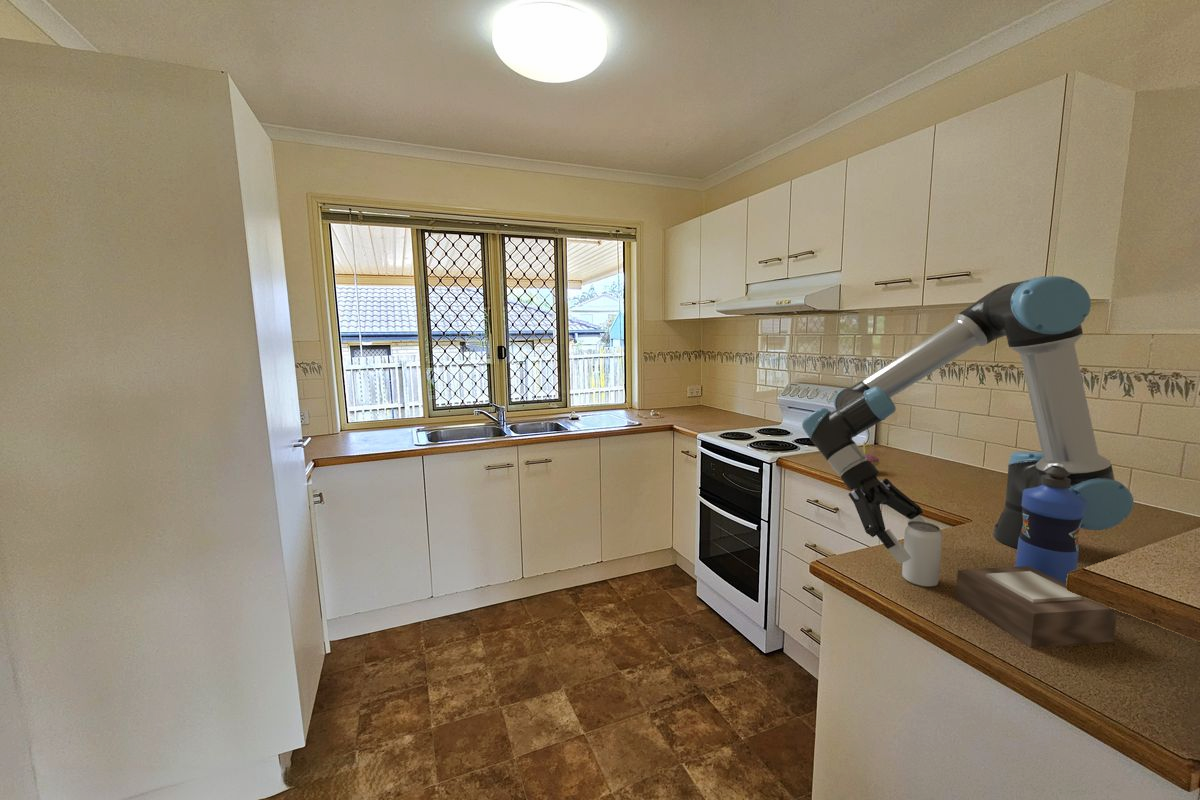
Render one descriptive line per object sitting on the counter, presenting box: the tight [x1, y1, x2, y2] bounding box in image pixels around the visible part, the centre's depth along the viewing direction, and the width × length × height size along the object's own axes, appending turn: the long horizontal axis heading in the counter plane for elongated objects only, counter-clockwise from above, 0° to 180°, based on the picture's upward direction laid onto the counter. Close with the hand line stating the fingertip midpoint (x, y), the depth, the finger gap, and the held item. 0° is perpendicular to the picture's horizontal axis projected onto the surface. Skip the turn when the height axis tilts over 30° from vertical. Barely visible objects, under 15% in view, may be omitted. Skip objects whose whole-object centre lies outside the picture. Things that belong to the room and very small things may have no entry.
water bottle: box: [1014, 466, 1087, 583], centre depth 96 cm, size 9×9×25 cm
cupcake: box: [863, 441, 880, 467], centre depth 180 cm, size 9×8×12 cm
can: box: [901, 521, 943, 588], centre depth 99 cm, size 6×6×12 cm
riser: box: [955, 566, 1118, 649], centre depth 85 cm, size 15×15×7 cm
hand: (921, 553), depth 99 cm, fingers open, 13 cm apart
